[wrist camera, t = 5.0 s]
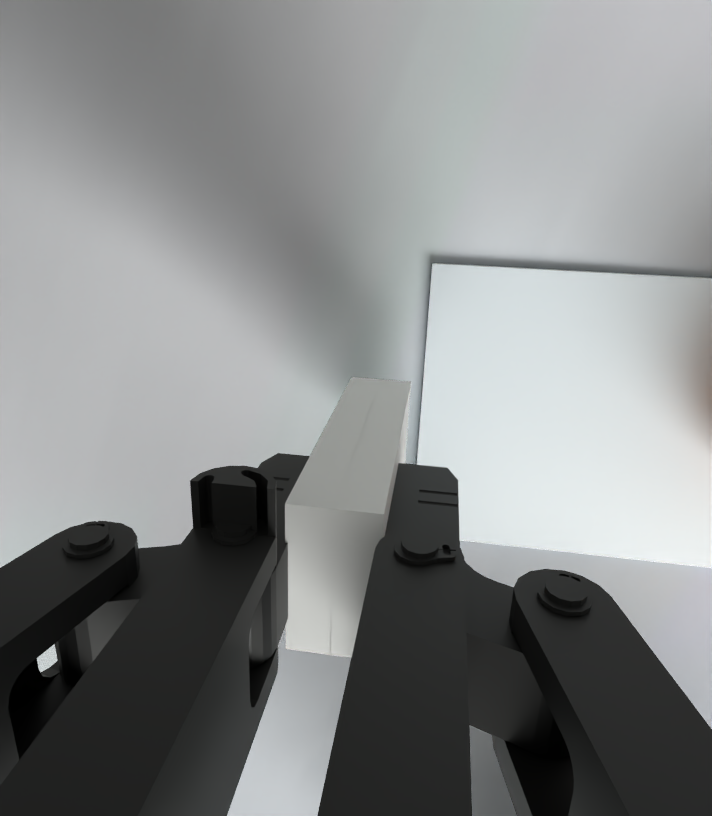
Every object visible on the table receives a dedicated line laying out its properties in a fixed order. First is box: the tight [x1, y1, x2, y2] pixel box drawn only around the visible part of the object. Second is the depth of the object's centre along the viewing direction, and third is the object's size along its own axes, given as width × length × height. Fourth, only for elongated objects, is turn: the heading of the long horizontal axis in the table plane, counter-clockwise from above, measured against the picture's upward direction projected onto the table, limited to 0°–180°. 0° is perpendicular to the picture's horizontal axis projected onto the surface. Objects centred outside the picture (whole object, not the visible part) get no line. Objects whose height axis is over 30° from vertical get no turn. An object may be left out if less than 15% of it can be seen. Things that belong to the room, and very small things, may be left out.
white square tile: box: [417, 263, 712, 568], centre depth 16 cm, size 9×8×1 cm
